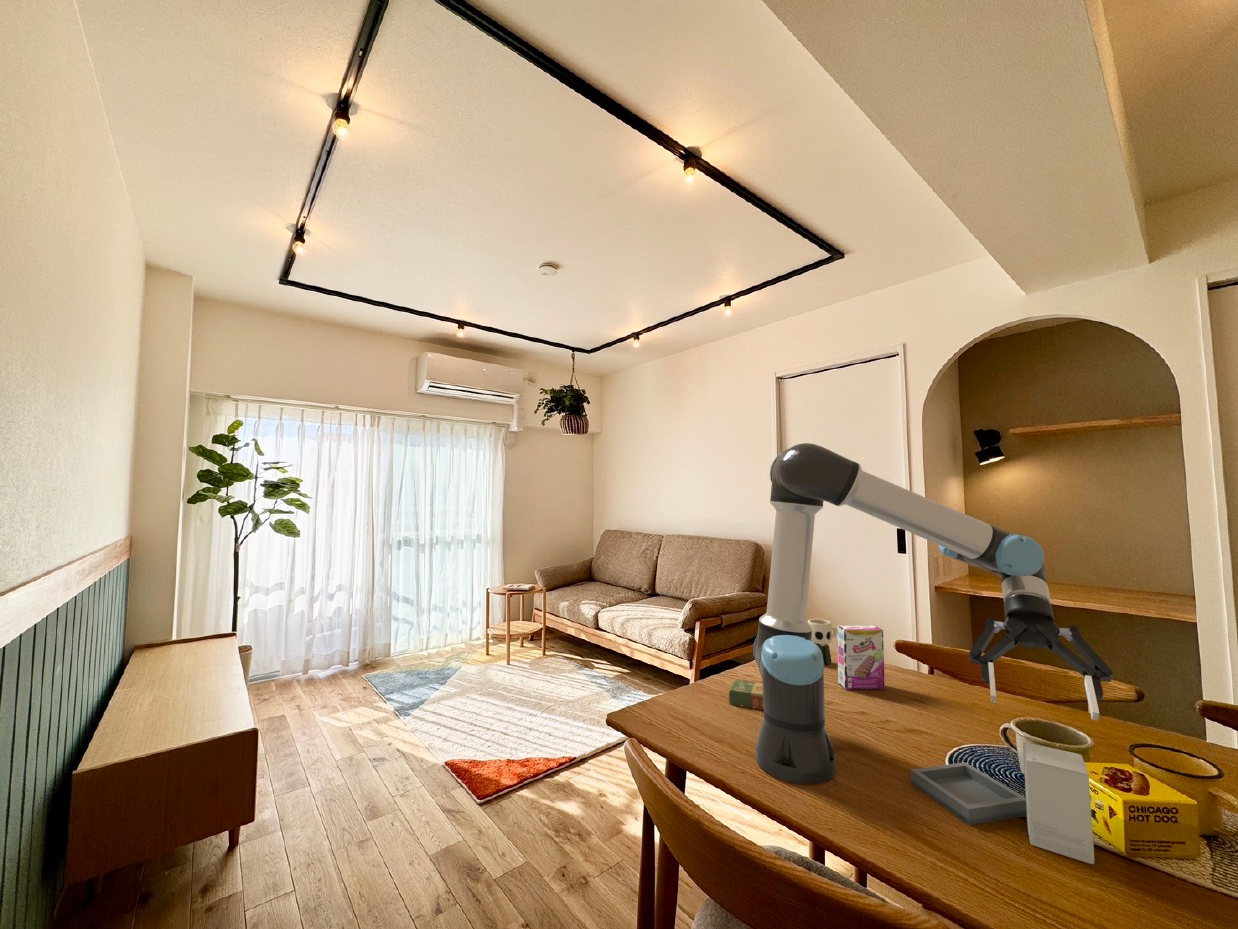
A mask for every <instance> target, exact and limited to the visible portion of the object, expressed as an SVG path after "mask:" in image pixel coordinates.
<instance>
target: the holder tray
mask: <svg viewBox="0 0 1238 929" xmlns="http://www.w3.org/2000/svg"><path fill="white" fill-rule="evenodd" d="M910 780H911V781H910V782H911V783H910V784H911V785H912V786H913V787H915V788H917V789H918V790H920V791H921V792H922V793H924V794H925V795H926V796H928V797H929V798H931V800H933V801H934V802H936V803H937V804H939V805H940V806H941V807H943V808H945V809H946V811H947V810H948V811H949V813H951V814H952V815H954V816H955V817H957V818H958V819H959V820H961V821H963V823H965V824H966V825H969V826H976V825H981V824H982V825H983V824H987V823H994V822H998V821H1004V820H1010V819H1016V818H1023V817H1027V808H1026V796H1023V795H1022V794H1020V793H1018V792H1017V791H1015V790H1014V789H1013V788H1010V787H1008V786H1007V785H1005V784H1003V783H1002V782H1000V781H998V780H996V779H995V778H993V777H991V776H990V775H987V774H986V773H984V772H983V771H982V770H979V769H977V768H976V767H974V766H972V765H970V764H969V763H967V762H965V761H963V762H957V763H951V764H950V763H949V764H948V763H947V764H941V765H937V766H936V765H935V766H934V765H933V766H928V767H922V768H921V767H920V768H915V769H913V768H911V769H910Z"/></svg>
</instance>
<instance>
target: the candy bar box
mask: <svg viewBox="0 0 1238 929" xmlns="http://www.w3.org/2000/svg"><path fill="white" fill-rule="evenodd" d="M836 631H837V636H836V639H837V640H836V643H837V644H836V645H837V683H838V685H839V684H840V685H839V686H841V687H842V688H843V689H844V690H849V691H850V690H859V689H860V690H885V661H884V660H885V658H884V656H885V654H884V653H885V652H884V650H885V649H884V630H883V629H882V628H881V627H878V626H876V625H872V624H870V625H869V624H868V625H866V624H865V625H864V624H863V625H854V624H853V625H849V624H848V625H847V624H845V625H844V624H843V625H841V624H840V625H836ZM860 690H859V691H860Z"/></svg>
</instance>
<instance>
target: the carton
mask: <svg viewBox="0 0 1238 929" xmlns="http://www.w3.org/2000/svg"><path fill="white" fill-rule="evenodd" d="M728 702H729V703H730V704H729V705H731V704H733V705H732V706H737V705H743V706H742V707H744V706H749V707H748V708H750V707H755V708H754V709H756V708H761V709H760V710H762V709H763V682H757V681H750V680H743V679H734V681H733V683H732V685H731V687H730V688H729V691H728Z"/></svg>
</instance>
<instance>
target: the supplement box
mask: <svg viewBox="0 0 1238 929" xmlns="http://www.w3.org/2000/svg"><path fill="white" fill-rule="evenodd" d="M1022 748H1023V749H1022V750H1023V753H1022V754H1023V770H1024V786H1025V787H1024V788H1025V791H1024V792H1025V798H1026V808H1027V816H1026V821H1027V822H1026V824H1027V825H1026V826H1027V831H1028V836H1029V837H1028V839H1029V843H1030V845H1031V846H1034V847H1037V848H1040V849H1043V850H1045V851H1049V852H1052V853H1056V854H1059V855H1062V856H1065V857H1068V858H1071V859H1073V860H1077V861H1081V862H1083V863H1087V864H1090V865H1094V864H1095V848H1094V847H1095V846H1094V836H1093V835H1094V833H1093V819H1092V807H1091V790H1090V774H1089V771H1088V769H1087V765H1086V763H1085V760H1084V757H1083V756H1082V753H1075V752H1072V751H1067V750H1064V749H1063V750H1062V749H1058V748H1054V747H1053V748H1052V747H1048V746H1044V745H1039V744H1034V743H1029V742H1025V741H1023V746H1022Z"/></svg>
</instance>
